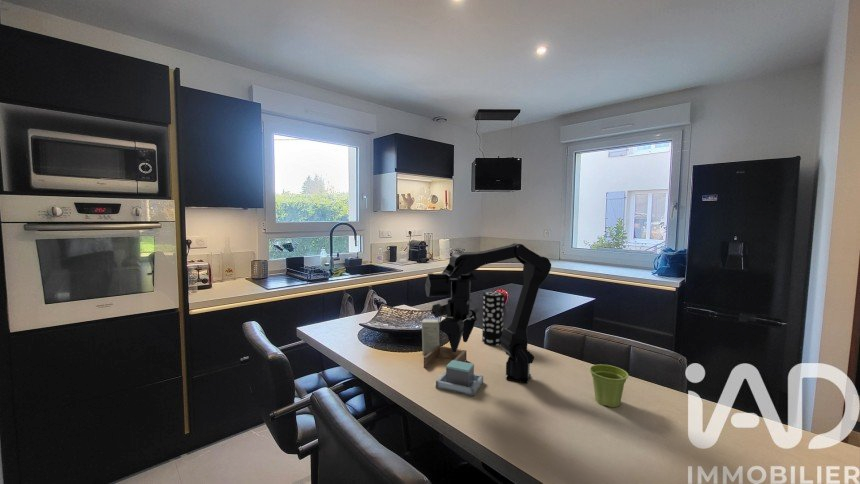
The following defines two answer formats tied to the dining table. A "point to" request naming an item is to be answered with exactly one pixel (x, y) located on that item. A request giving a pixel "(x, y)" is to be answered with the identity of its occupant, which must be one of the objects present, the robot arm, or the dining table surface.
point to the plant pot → (608, 384)
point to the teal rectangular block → (460, 373)
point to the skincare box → (430, 335)
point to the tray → (456, 388)
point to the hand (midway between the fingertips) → (459, 346)
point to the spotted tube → (492, 317)
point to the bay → (444, 355)
